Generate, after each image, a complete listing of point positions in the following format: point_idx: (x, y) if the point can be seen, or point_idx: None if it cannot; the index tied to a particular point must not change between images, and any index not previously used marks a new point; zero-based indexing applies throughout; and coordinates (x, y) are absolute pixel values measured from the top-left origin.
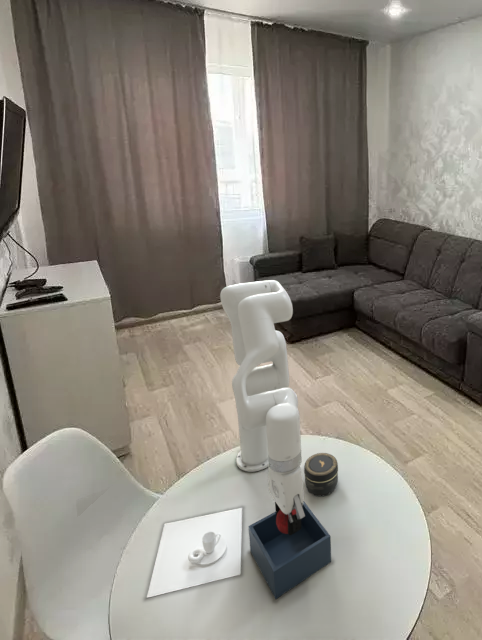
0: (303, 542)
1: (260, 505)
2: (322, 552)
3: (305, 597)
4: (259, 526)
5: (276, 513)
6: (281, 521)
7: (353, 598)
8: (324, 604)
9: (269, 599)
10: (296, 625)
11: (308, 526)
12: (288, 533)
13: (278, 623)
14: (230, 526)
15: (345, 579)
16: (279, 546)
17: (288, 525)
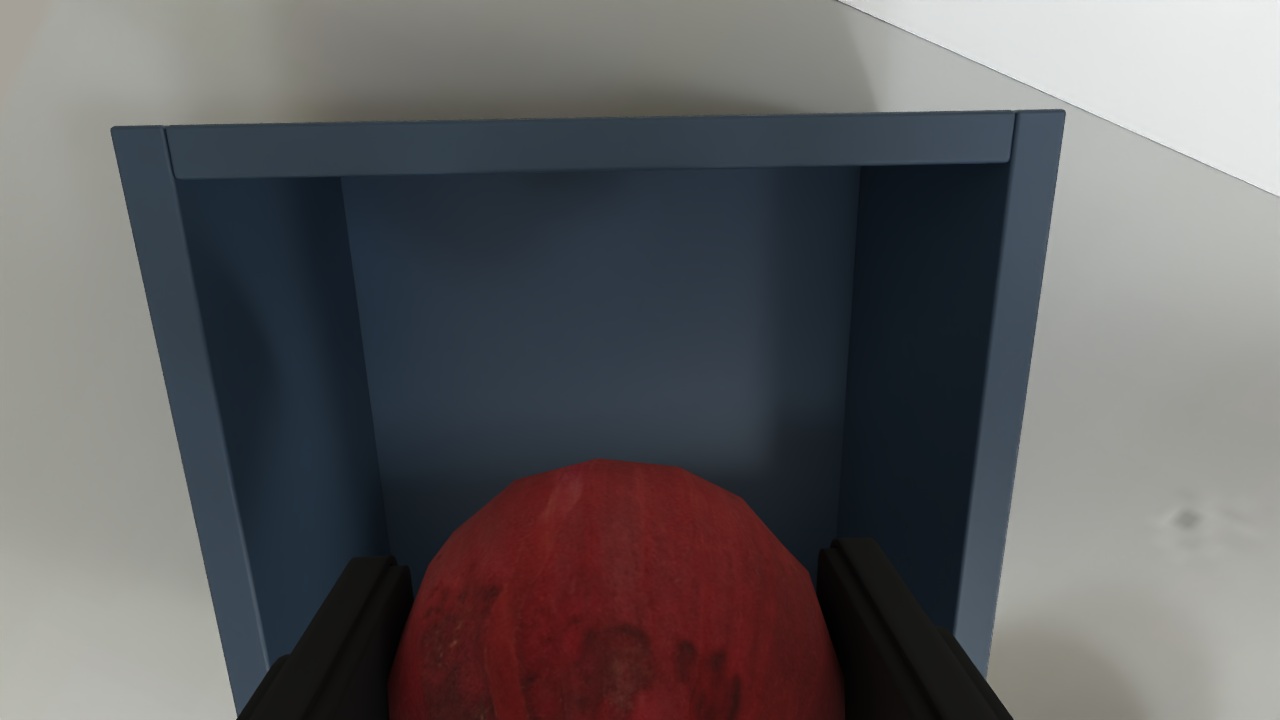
0: None
1: (1261, 393)
2: None
3: None
4: (967, 259)
5: (855, 568)
6: (510, 609)
7: (34, 626)
8: (85, 445)
9: (341, 92)
10: (18, 194)
11: None
12: (367, 565)
13: (99, 72)
14: (1277, 60)
15: (197, 648)
16: (742, 365)
17: (265, 702)
